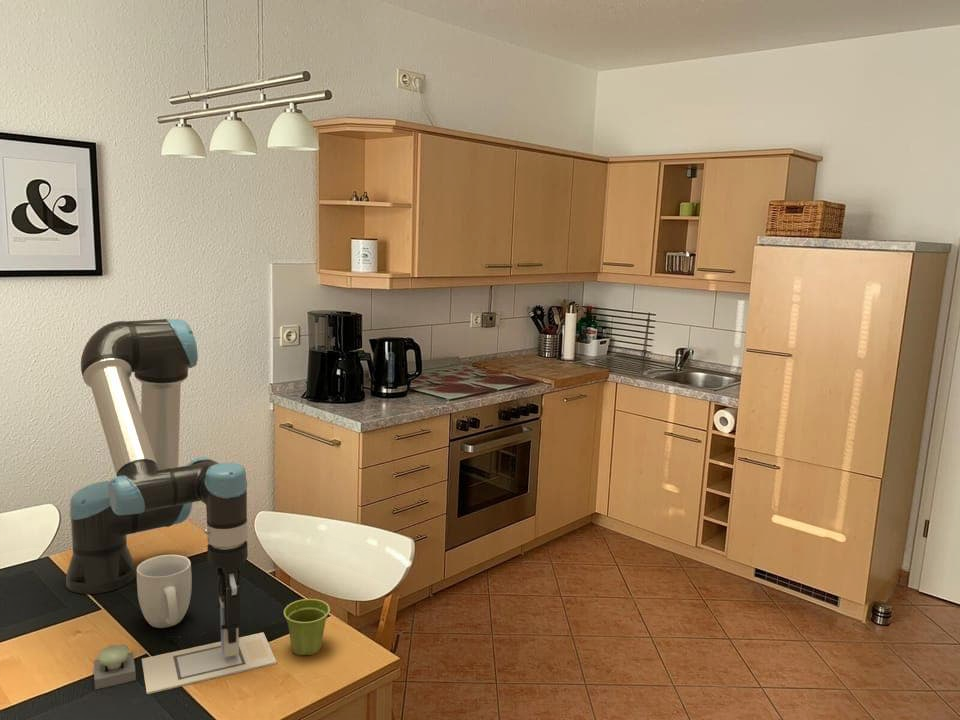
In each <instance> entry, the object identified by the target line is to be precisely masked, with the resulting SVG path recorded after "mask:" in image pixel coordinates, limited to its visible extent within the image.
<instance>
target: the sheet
mask: <svg viewBox="0 0 960 720" xmlns="http://www.w3.org/2000/svg"><path fill="white" fill-rule="evenodd" d="M277 664H278V663H277V660H276V657H275V655H274V653H273V651H272V649H271V646H270V643H269V641H268V639H267V637H266V635H265V633H264V631H263V632H259V633H253V634H250V635H245V636H240V637H239V654H238V655H234V656H230V657H225V656H224V653H223V650H222V647H221V641H217V642H212V643H208V644H204V645H203V644H202V645H198V646H194V647H190V648H186V649H181V650H176V651H172V652H166V653H162V654H156V655H153V656H148V657H144V658H143V657H142V658H141V665H142V672H143V679H144V683H145V684H144V685H145V690H146V695H151V694H154V693H155V694H156V693H159V692H163V691H167V690H172V689H175V688H176V689H177V688H180V687H184V686H189V685H192V684H193V685H194V684H196V683H197V684H198V683H201V682H206V681H209V680H214V679H218V678H221V677H226V676H230V675H235V674H239V673H243V672H247V671H251V670H254V669H255V670H257V669H259V668H263V667H268V666H271V665H277Z"/></svg>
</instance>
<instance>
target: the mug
mask: <svg viewBox="0 0 960 720" xmlns="http://www.w3.org/2000/svg"><path fill="white" fill-rule="evenodd" d="M192 584H193V583H192V563H191V560H190V559H189V558H188V557H186V556H184V555H180V554H163V555H162V554H161V555H158V556H154V557H151V558H148V559H144V561H141V563H139V564H138V566H136V587H137V588H136V589H137V600H138V603H139V607H140V610H141V613H142V615H143V617H144V619H145V620H146V622H147V623H148V624H149V626H151V627H153V628H157V629H165V628H170V627H171V628H172V627H173V626H176V625H178V624H179V623H180V622H182V620H183V619H184V617H185V615H186V613H187V611H188V609H189V605H190V601H191V596H192V588H193V587H192Z"/></svg>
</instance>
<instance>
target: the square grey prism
mask: <svg viewBox="0 0 960 720" xmlns="http://www.w3.org/2000/svg"><path fill="white" fill-rule="evenodd" d="M219 597H220V609H219V614H220V615H219V618H220V625H219V626H221V625H225V616H224V596H219ZM239 629H240V628H238V637H239V635H240V631H239ZM220 642H221V647H222V650H223V653H224V629H223V630H222V629H221V628H220Z"/></svg>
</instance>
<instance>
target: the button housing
mask: <svg viewBox="0 0 960 720" xmlns="http://www.w3.org/2000/svg"><path fill="white" fill-rule="evenodd" d="M134 656H135V655H134V651H129V657H128V658H127V659H126V660H125V661H124V662H122V663H121V669H117V670H112V671H108V669H107V666H104V665H101V664H100V663H99V658H97V659H93V682H94V690H95V691H96V690H99V689H104V688H108V687H112V686H117V685H121V684H126V683H129V682H133V681H134V680H135V681H137V674H136V665H135V658H134Z"/></svg>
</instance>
